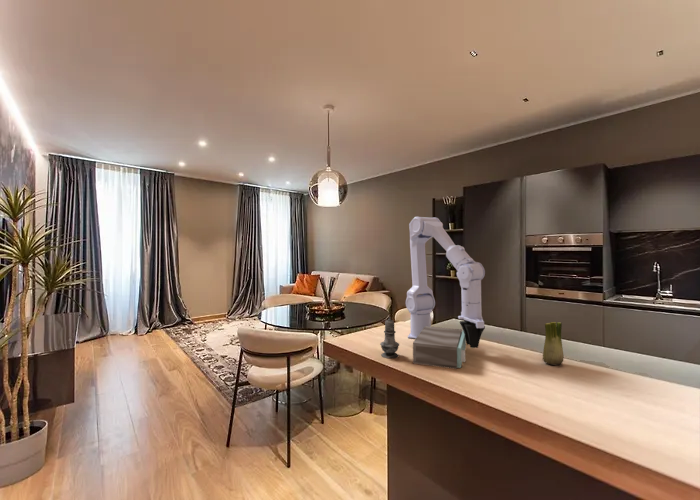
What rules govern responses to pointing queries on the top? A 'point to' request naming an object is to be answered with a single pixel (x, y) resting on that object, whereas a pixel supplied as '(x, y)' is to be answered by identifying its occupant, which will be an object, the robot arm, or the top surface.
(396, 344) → the salt shaker
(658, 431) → the top surface
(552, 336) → the fennel bulb
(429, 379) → the top surface
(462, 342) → the door
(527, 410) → the top surface
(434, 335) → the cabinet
